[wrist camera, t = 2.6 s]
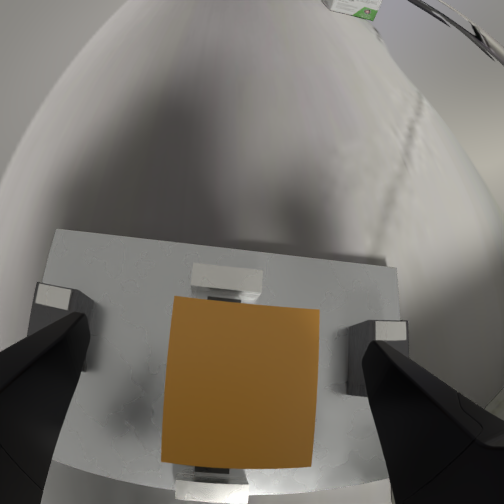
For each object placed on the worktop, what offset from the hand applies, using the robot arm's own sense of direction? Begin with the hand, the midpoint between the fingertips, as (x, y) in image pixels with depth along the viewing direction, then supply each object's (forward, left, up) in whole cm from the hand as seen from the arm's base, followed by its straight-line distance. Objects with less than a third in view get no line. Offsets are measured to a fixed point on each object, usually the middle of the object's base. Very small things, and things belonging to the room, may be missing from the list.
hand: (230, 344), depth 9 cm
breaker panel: (-1, -1, -8) cm, 8 cm away
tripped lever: (-1, -1, -7) cm, 7 cm away
